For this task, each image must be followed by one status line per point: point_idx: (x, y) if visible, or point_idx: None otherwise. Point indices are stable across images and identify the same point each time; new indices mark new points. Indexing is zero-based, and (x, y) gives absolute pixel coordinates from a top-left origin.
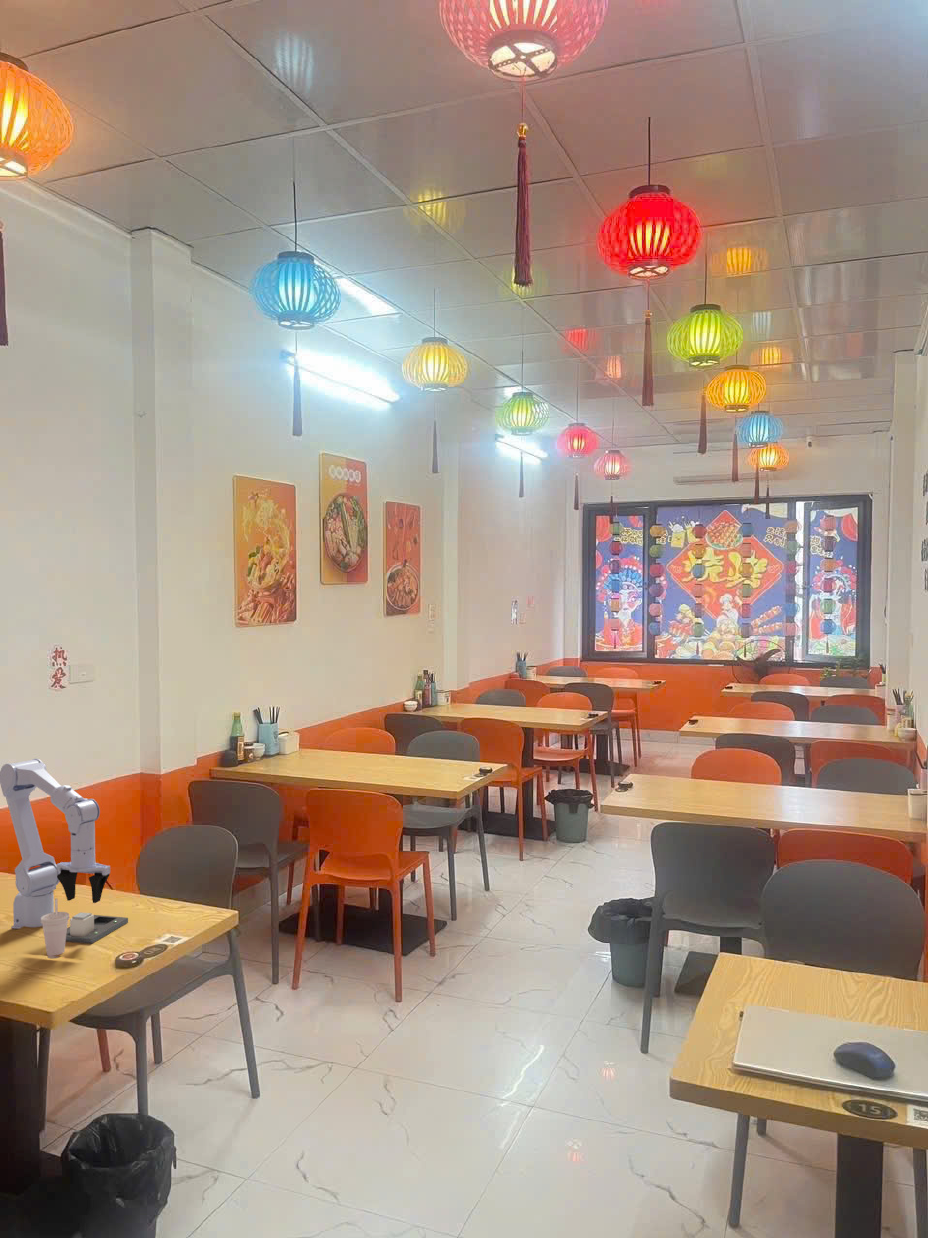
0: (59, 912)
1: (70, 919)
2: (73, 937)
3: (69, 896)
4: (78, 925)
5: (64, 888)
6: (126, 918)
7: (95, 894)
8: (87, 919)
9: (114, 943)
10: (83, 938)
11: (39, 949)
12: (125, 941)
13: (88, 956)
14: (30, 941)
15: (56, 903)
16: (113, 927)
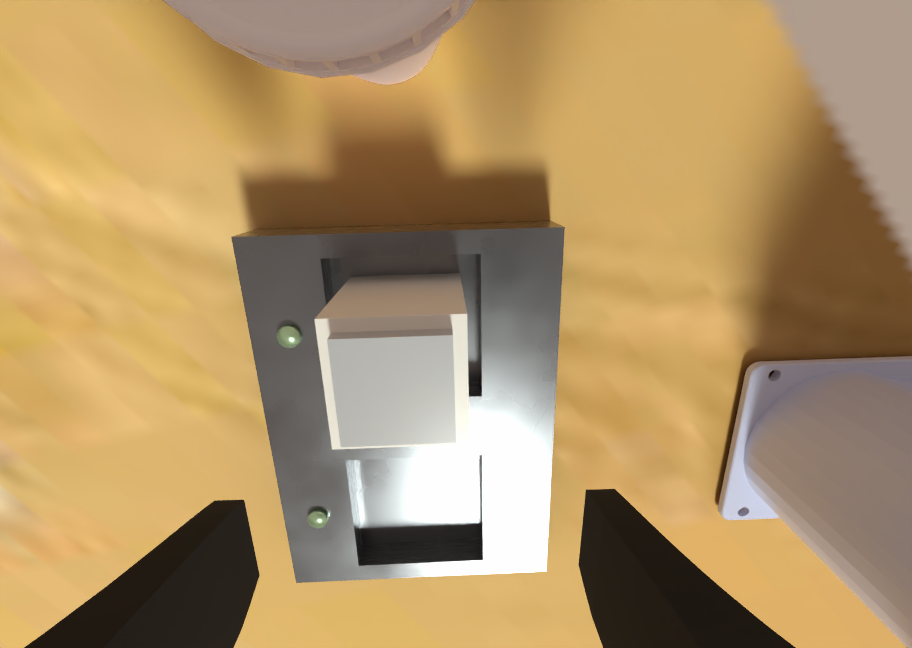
0: (373, 16)
1: (460, 312)
2: (392, 233)
3: (604, 533)
4: (379, 301)
5: (736, 619)
6: (296, 573)
7: (98, 593)
8: (324, 366)
9: (167, 318)
10: (304, 235)
11: (582, 102)
12: (128, 361)
13: (142, 74)
14: (729, 214)
15: None
16: (277, 458)
